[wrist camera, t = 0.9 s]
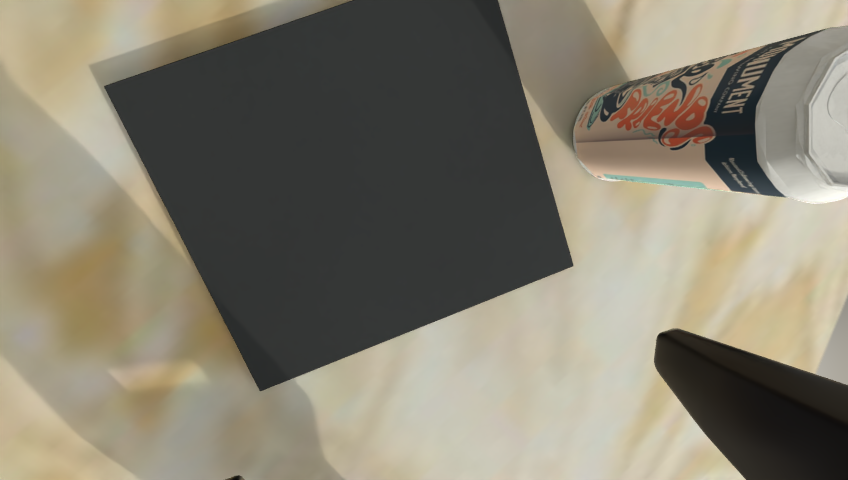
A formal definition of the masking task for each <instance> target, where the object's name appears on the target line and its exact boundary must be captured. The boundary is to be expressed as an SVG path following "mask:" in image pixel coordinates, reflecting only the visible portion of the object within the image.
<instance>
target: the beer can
mask: <svg viewBox="0 0 848 480" xmlns="http://www.w3.org/2000/svg"><path fill="white" fill-rule="evenodd" d="M573 145H574V150H575V153H576V156H577V158H578V160H579V162H580V164H581V165H582V166H583V168H584V169H585V170H586V171H587V172H589V173H590V174H591V175H593V176H594V177H596V178H599V179H602V180H607V181H632V182H641V183H651V184H661V185H670V186H680V187H690V188H700V189H709V190H719V191H729V192H738V193H748V194H758V195H768V196H777V197H787V198H791V199H794V200H797V201H802V202H807V203H813V204H819V203H827V202H833V201H838V200H841V199H843V198H846V197H848V26H841V27H832V28H827V29H824V30H820V31H816V32H812V33H809V34H805V35H801V36H798V37H794V38H790V39H786V40H783V41H779V42H775V43H772V44H768V45H764V46H760V47H757V48H753V49H749V50H746V51H742V52H738V53H734V54H731V55H727V56H723V57H719V58H716V59H712V60H708V61H705V62H701V63H697V64H693V65H690V66H686V67H682V68H679V69H675V70H671V71H667V72H664V73H660V74H656V75H653V76H649V77H645V78H641V79H638V80H634V81H630V82H627V83H623V84H619V85H615V86H612V87H609V88H606V89H604V90H602V91H600V92H598V93H597V94H595V95H594V96H592V97H591V98H590V99H589V100H588V101H587V102H586V103H585V104H584V106H583V107H582V109H581V110H580V112H579V115H578V117H577V119H576V121H575V126H574V130H573Z"/></svg>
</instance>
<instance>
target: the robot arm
mask: <svg viewBox="0 0 848 480" xmlns="http://www.w3.org/2000/svg"><path fill="white" fill-rule="evenodd" d="M654 363H655V367H656V369H657V371H658V372H659V374H660V375H661V377H662V378H663V379H664V381H665V382H666V383H667V385H668V386H669V387H670V389H671V390H672V391H673V393H674V394H675V395H676V397H677V398H678V399H679V401H680V402H681V403H682V405H683V406H684V407H685V408H686V410H687V411H688V412H689V414H690V415H691V416H692V418H693V419H694V420H695V422H696V423H697V424H698V426H699V427H700V428H701V429H702V431H703V432H704V433H705V434H706V435H707V437H708V438H709V439H710V440H711V441H712V442H713V443H714V445H715V446H716V447H717V448H718V449H719V450H720V451H721V452H722V453H723V455H724V456H725V457H726V458H727V459H728V460H729V461H730V462H731V463H732V465H733V466H734V467H735V468H736V469H737V470H738V471H739V472H740V473H741V475H742V476H743V477H744V478H745V479H746V480H848V385H846V384H842V383H840V382H836V381H834V380H831V379H828V378H825V377H821V376H819V375H816V374H813V373H810V372H807V371H804V370H801V369H798V368H795V367H792V366H789V365H786V364H783V363H780V362H777V361H774V360H771V359H768V358H765V357H762V356H759V355H756V354H753V353H750V352H747V351H744V350H741V349H738V348H735V347H732V346H729V345H726V344H723V343H720V342H717V341H714V340H711V339H708V338H705V337H702V336H699V335H696V334H693V333H690V332H687V331H684V330H681V329H670V330H668V331H665V332H662V333H660V334H659V335H658V336H657V340H656V348H655V356H654ZM225 480H244V479H243V477H242V476H239V475H238V476H234V477H231V478H228V479H225Z"/></svg>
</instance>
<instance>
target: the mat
mask: <svg viewBox="0 0 848 480" xmlns="http://www.w3.org/2000/svg"><path fill="white" fill-rule="evenodd" d="M104 87H105V89H106V91H107V93H108V95H109V97H110V99H111V101H112V103H113V105H114V107H115V109H116V111H117V113H118V115H119V117H120V119H121V121H122V123H123V124H124V126H125V128H126V130H127V132H128V134H129V136H130V138H131V140H132V142H133V144H134V146H135V148H136V150H137V152H138V154H139V156H140V158H141V160H142V162H143V164H144V165H145V167H146V169H147V171H148V173H149V175H150V177H151V179H152V181H153V183H154V185H155V187H156V189H157V191H158V193H159V195H160V197H161V199H162V201H163V203H164V205H165V206H166V208H167V210H168V212H169V214H170V216H171V218H172V220H173V222H174V224H175V226H176V228H177V230H178V232H179V234H180V236H181V238H182V240H183V242H184V244H185V245H186V247H187V249H188V251H189V253H190V255H191V257H192V259H193V261H194V263H195V265H196V267H197V269H198V271H199V273H200V275H201V277H202V279H203V281H204V283H205V285H206V286H207V288H208V290H209V292H210V294H211V296H212V298H213V300H214V302H215V304H216V306H217V308H218V310H219V312H220V314H221V316H222V318H223V320H224V322H225V324H226V326H227V327H228V329H229V331H230V333H231V335H232V337H233V339H234V341H235V343H236V345H237V347H238V349H239V351H240V353H241V355H242V357H243V359H244V361H245V363H246V365H247V367H248V368H249V370H250V372H251V374H252V376H253V378H254V380H255V382H256V384H257V386H258V388H259V390H260V391H262V390H265V389H267V388H270V387H272V386H275V385H277V384H280V383H282V382H285V381H287V380H290V379H292V378H295V377H297V376H300V375H302V374H305V373H307V372H310V371H312V370H315V369H317V368H320V367H322V366H325V365H327V364H330V363H332V362H335V361H337V360H340V359H342V358H345V357H347V356H350V355H352V354H355V353H357V352H360V351H362V350H365V349H367V348H370V347H372V346H375V345H377V344H380V343H382V342H385V341H387V340H390V339H392V338H395V337H397V336H400V335H402V334H405V333H407V332H410V331H412V330H415V329H417V328H420V327H422V326H425V325H427V324H430V323H432V322H435V321H437V320H440V319H442V318H445V317H447V316H450V315H452V314H455V313H457V312H460V311H462V310H465V309H467V308H470V307H472V306H475V305H477V304H480V303H482V302H485V301H487V300H490V299H492V298H495V297H497V296H500V295H502V294H505V293H507V292H510V291H512V290H515V289H517V288H520V287H522V286H525V285H527V284H530V283H532V282H535V281H537V280H540V279H542V278H545V277H547V276H550V275H552V274H555V273H557V272H560V271H562V270H565V269H567V268H570V267H572V266H573V262H572V259H571V255H570V252H569V248H568V245H567V241H566V238H565V234H564V231H563V227H562V224H561V220H560V217H559V213H558V210H557V206H556V203H555V199H554V196H553V192H552V189H551V185H550V182H549V178H548V175H547V171H546V168H545V164H544V161H543V157H542V154H541V150H540V147H539V143H538V140H537V136H536V133H535V129H534V126H533V122H532V119H531V115H530V112H529V108H528V105H527V101H526V98H525V94H524V91H523V87H522V84H521V80H520V77H519V73H518V70H517V66H516V63H515V59H514V56H513V52H512V49H511V45H510V42H509V38H508V35H507V31H506V28H505V24H504V21H503V17H502V14H501V10H500V7H499V3H498V0H353V1H350V2H347V3H344V4H341V5H338V6H335V7H332V8H329V9H327V10H324V11H321V12H318V13H315V14H312V15H309V16H306V17H303V18H301V19H298V20H295V21H292V22H289V23H286V24H283V25H280V26H277V27H274V28H272V29H269V30H266V31H263V32H260V33H257V34H254V35H251V36H248V37H246V38H243V39H240V40H237V41H234V42H231V43H228V44H225V45H222V46H220V47H217V48H214V49H211V50H208V51H205V52H202V53H199V54H196V55H193V56H191V57H188V58H185V59H182V60H179V61H176V62H173V63H170V64H167V65H165V66H162V67H159V68H156V69H153V70H150V71H147V72H144V73H141V74H138V75H136V76H133V77H130V78H127V79H124V80H121V81H118V82H115V83H112V84H110V85H107V86H104Z"/></svg>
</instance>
